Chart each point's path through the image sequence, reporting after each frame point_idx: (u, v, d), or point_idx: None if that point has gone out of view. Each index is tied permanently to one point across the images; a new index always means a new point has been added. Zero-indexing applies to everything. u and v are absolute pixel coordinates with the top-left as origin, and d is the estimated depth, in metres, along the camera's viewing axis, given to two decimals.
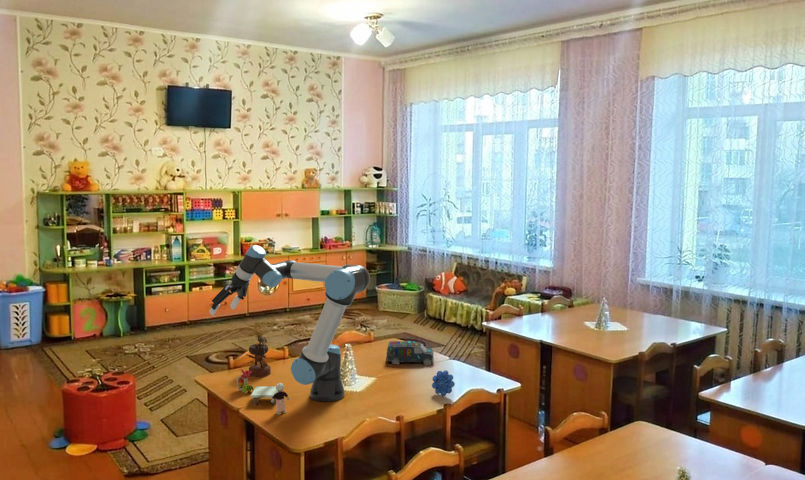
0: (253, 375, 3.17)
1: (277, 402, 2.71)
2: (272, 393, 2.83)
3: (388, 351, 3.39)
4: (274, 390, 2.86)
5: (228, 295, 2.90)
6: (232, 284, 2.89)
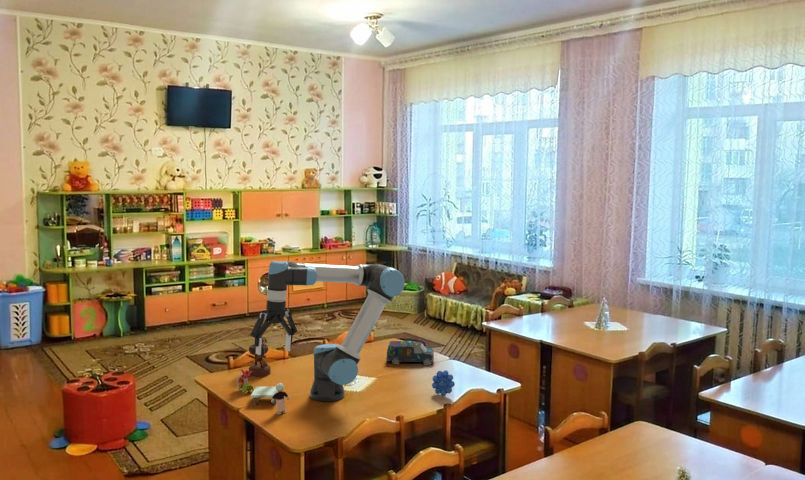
0: (253, 375, 3.17)
1: (277, 402, 2.71)
2: (272, 393, 2.83)
3: (388, 351, 3.40)
4: (274, 390, 2.86)
5: (267, 325, 2.60)
6: (267, 311, 2.61)
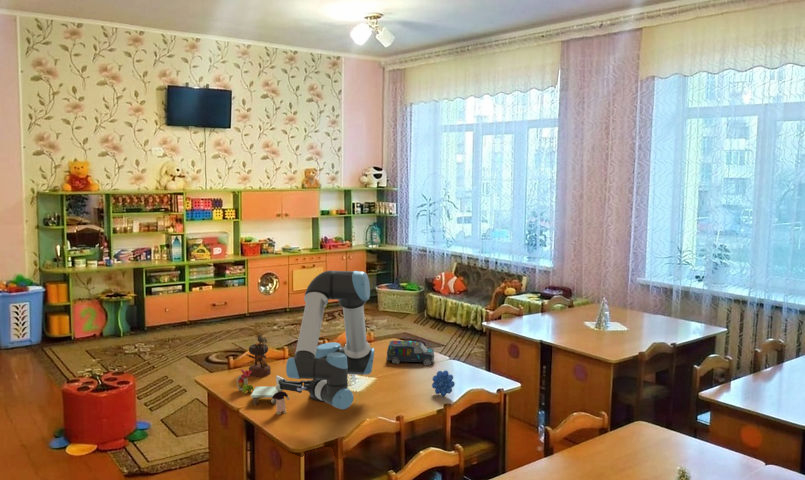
0: (253, 375, 3.17)
1: (277, 402, 2.71)
2: (272, 393, 2.83)
3: (388, 350, 3.41)
4: (274, 390, 2.86)
5: None
6: None
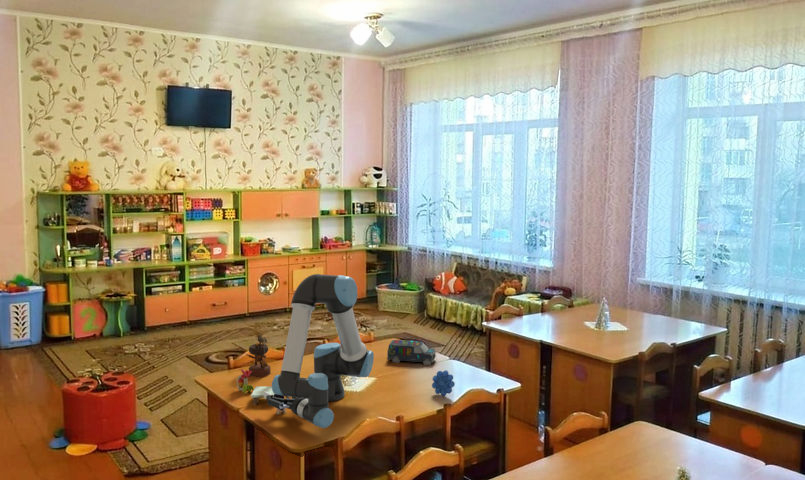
0: (253, 375, 3.17)
1: None
2: (272, 393, 2.83)
3: (389, 349, 3.42)
4: None
5: None
6: None
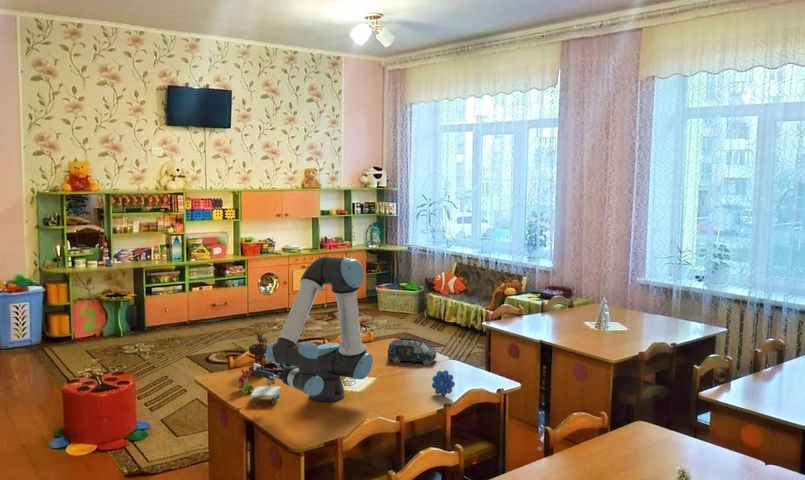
0: (253, 375, 3.17)
1: None
2: (272, 393, 2.83)
3: (389, 349, 3.43)
4: (274, 390, 2.86)
5: None
6: None
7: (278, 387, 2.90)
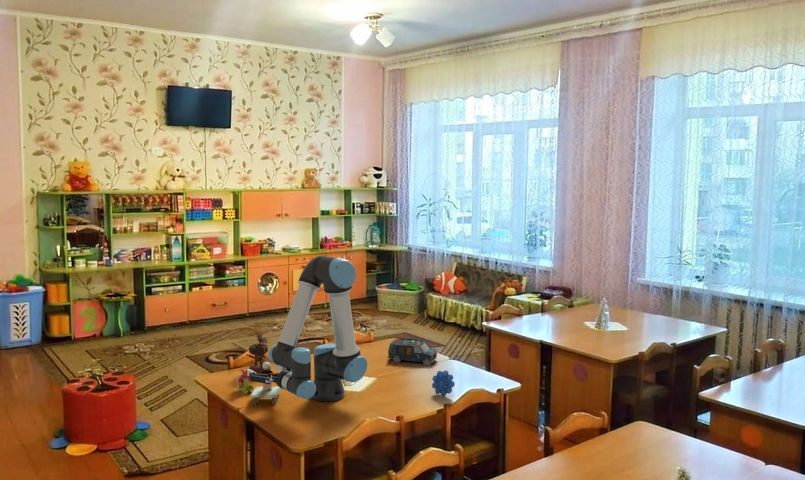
0: None
1: None
2: (272, 393, 2.83)
3: (389, 348, 3.44)
4: (274, 390, 2.86)
5: (284, 370, 2.81)
6: None
7: (278, 387, 2.90)
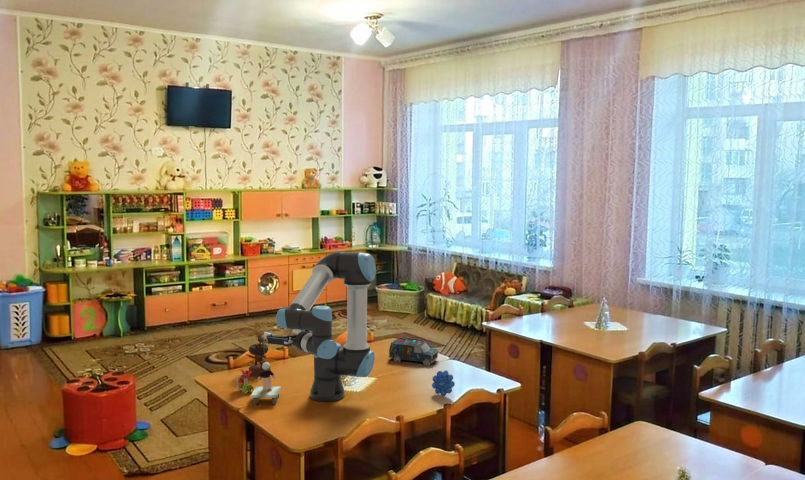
0: (253, 375, 3.17)
1: (263, 380, 2.84)
2: (272, 393, 2.83)
3: (390, 348, 3.45)
4: (274, 390, 2.86)
5: None
6: None
7: (278, 387, 2.90)
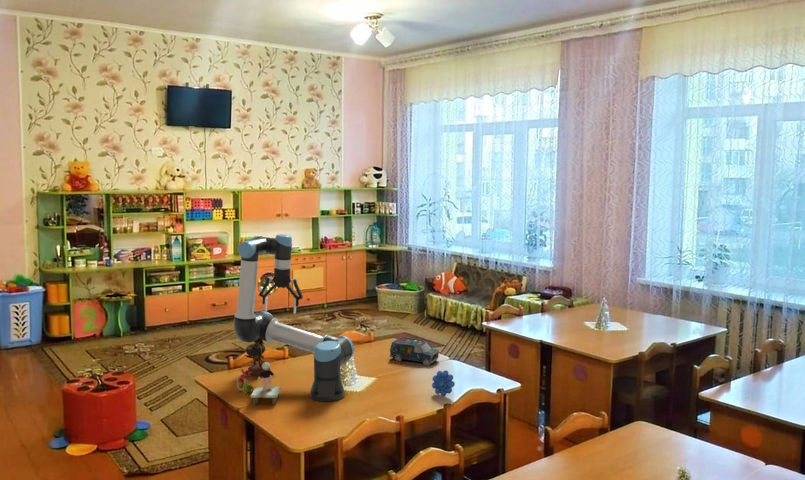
0: (253, 376, 3.17)
1: (263, 380, 2.84)
2: (272, 393, 2.83)
3: (391, 347, 3.46)
4: (274, 390, 2.86)
5: (272, 288, 3.07)
6: None
7: (278, 387, 2.90)
